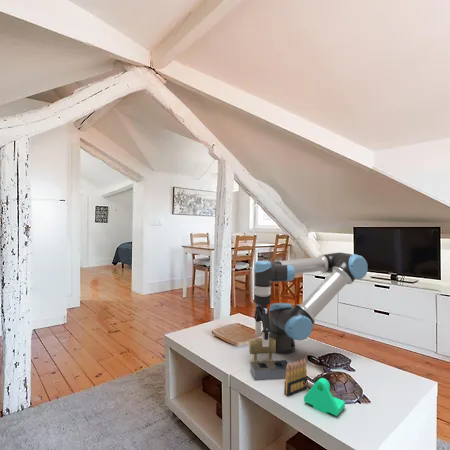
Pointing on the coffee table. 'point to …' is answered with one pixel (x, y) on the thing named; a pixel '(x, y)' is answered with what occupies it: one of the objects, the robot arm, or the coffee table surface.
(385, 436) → the coffee table surface
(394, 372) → the coffee table surface
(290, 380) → the ammunition clip
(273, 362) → the grey block with holes
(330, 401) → the camera mount
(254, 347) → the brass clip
